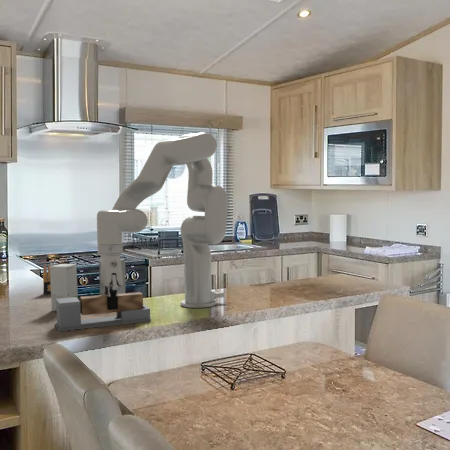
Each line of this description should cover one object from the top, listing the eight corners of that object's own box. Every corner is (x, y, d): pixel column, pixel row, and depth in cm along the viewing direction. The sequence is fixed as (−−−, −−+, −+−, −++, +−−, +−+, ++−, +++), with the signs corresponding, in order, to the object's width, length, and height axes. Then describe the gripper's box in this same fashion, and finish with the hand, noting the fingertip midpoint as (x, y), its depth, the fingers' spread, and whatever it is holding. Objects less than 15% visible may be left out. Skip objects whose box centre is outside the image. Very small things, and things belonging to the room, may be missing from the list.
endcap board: (143, 315, 184) (142, 290, 184) (151, 321, 176) (150, 295, 176) (55, 325, 173) (54, 298, 172) (59, 331, 165) (57, 304, 164)
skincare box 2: (111, 298, 212) (110, 257, 211) (127, 300, 209) (126, 258, 208) (98, 303, 204) (97, 260, 203) (115, 304, 202) (113, 261, 200)
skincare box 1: (67, 311, 191) (66, 266, 190) (50, 311, 193) (48, 266, 191) (78, 306, 199) (77, 263, 198) (61, 306, 201) (60, 263, 200)
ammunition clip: (43, 294, 223) (42, 264, 222) (43, 294, 224) (42, 264, 223) (71, 292, 226) (70, 263, 226) (70, 291, 228) (69, 262, 227)
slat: (140, 307, 181) (139, 292, 180) (143, 309, 178) (142, 293, 177) (80, 312, 173) (79, 296, 173) (82, 315, 170) (81, 298, 170)
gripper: (128, 251, 168) (129, 312, 169) (115, 246, 183) (117, 302, 184) (103, 253, 165) (104, 314, 166) (92, 247, 180) (94, 304, 181)
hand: (111, 307), depth 175 cm, fingers closed on slat, 3 cm apart
